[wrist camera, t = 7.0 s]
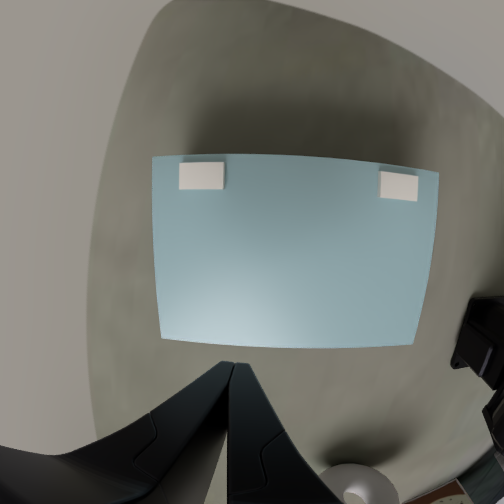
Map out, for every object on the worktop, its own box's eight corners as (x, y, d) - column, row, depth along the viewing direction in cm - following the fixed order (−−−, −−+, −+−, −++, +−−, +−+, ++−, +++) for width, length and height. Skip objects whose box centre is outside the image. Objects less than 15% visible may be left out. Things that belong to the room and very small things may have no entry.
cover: (433, 172, 12) (442, 172, 11) (408, 339, 14) (415, 347, 13) (157, 157, 13) (149, 156, 12) (165, 332, 15) (159, 341, 14)
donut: (393, 458, 22) (416, 527, 12) (376, 475, 23) (393, 541, 13) (313, 452, 22) (321, 538, 12) (297, 469, 23) (300, 549, 13)
